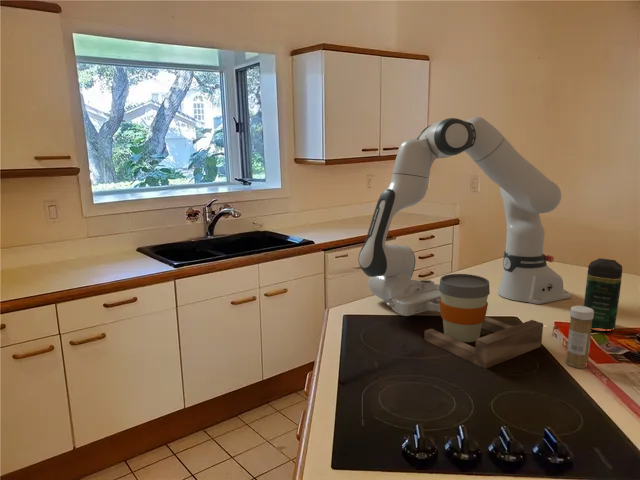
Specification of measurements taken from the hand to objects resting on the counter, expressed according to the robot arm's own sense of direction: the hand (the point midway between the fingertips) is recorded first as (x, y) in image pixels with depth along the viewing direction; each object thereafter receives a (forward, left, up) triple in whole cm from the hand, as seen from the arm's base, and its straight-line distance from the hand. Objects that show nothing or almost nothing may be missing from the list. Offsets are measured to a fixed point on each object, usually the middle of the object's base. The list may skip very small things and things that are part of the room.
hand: (445, 308), depth 128 cm
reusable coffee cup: (-2, +6, -6) cm, 8 cm away
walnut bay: (-4, +11, -5) cm, 13 cm away
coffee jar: (-41, +10, -6) cm, 42 cm away
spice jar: (-19, +27, -6) cm, 33 cm away
